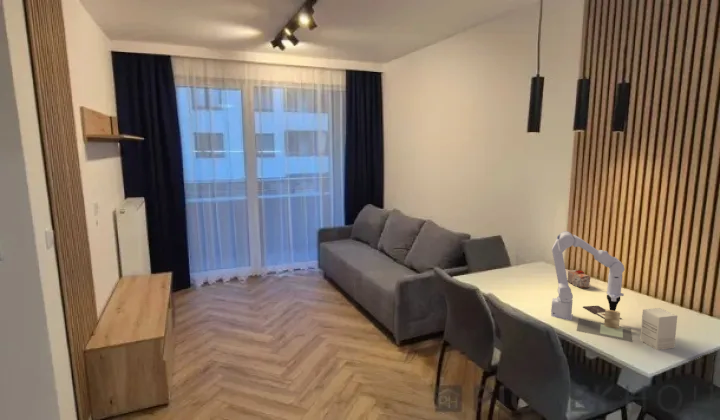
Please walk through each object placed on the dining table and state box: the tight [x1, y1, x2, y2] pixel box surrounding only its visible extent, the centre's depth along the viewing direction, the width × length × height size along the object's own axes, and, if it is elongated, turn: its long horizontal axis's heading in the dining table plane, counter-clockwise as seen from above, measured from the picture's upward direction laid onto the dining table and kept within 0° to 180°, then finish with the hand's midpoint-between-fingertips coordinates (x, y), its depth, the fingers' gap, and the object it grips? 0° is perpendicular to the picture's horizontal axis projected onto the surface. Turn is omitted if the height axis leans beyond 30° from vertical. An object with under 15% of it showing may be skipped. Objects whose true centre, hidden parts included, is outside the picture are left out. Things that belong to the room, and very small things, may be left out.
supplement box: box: [639, 307, 678, 351], centre depth 175 cm, size 9×9×15 cm
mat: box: [576, 318, 633, 343], centre depth 190 cm, size 22×16×1 cm
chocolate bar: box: [582, 305, 623, 320], centre depth 209 cm, size 9×1×18 cm
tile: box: [603, 308, 621, 329], centre depth 192 cm, size 6×2×8 cm, turn 58°
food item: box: [567, 269, 591, 289], centre depth 251 cm, size 14×8×10 cm, turn 12°
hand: (612, 310), depth 197 cm, fingers closed
